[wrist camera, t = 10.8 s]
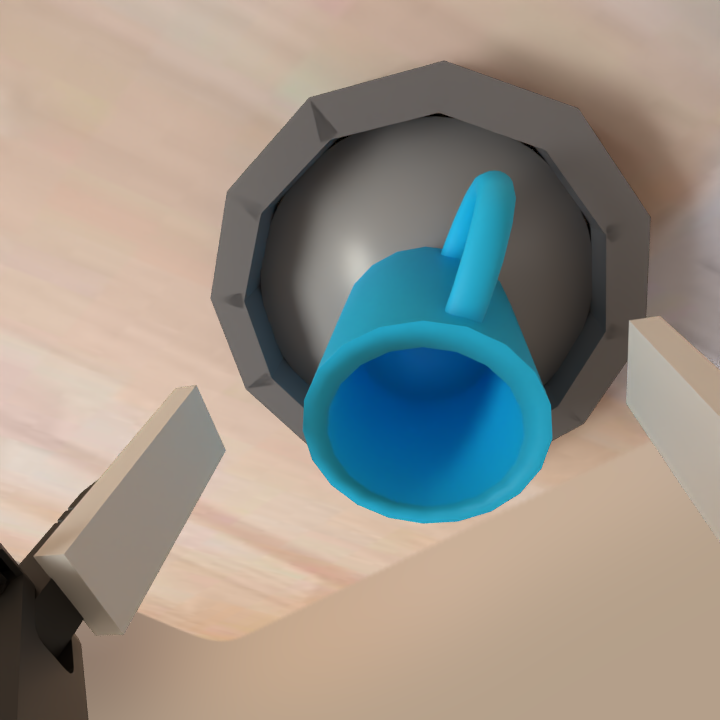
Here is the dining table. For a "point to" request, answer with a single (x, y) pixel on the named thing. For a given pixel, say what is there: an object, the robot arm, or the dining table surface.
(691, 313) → the dining table surface
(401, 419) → the mug
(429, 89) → the holder ring
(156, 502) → the robot arm
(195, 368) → the dining table surface
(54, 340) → the dining table surface
